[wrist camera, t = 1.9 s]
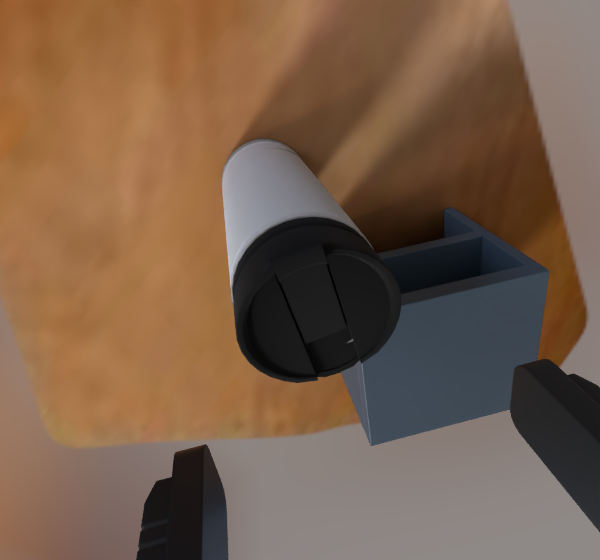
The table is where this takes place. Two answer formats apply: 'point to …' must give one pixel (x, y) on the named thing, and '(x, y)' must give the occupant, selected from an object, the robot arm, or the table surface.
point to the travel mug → (300, 270)
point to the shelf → (451, 333)
